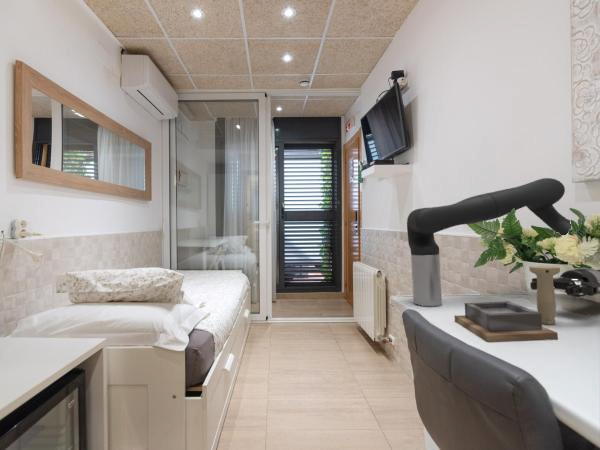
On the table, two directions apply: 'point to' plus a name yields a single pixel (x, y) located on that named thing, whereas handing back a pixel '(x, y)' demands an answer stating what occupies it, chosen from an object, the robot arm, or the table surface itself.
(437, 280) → the robot arm
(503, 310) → the mottled stone tile
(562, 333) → the table surface
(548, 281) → the handle
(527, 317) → the socket base
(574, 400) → the table surface
